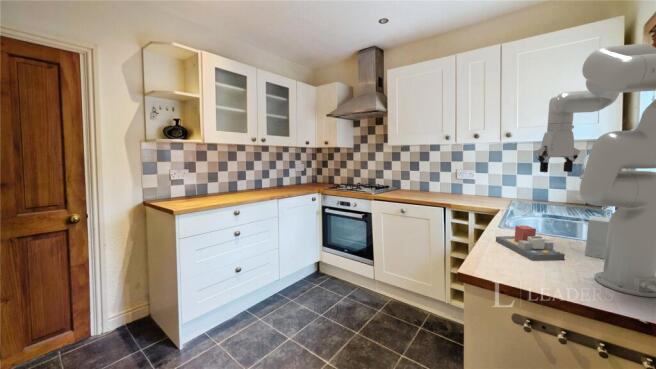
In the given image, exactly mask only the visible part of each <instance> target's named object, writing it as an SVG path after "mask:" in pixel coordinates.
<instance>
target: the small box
mask: <svg viewBox="0 0 656 369" xmlns="http://www.w3.org/2000/svg"><path fill="white" fill-rule="evenodd" d="M610 218H611V217H604V216H603V217H601V216H595V215H590V216H589V218H588V221H587V222H588V223H587V232H586V242H585V243H586V244H585V251H584V252H585V253H584V256H587V257H593V258H597V259H602V260H605V251H606V242H607V234H608V225H609V220H610Z"/></svg>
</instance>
